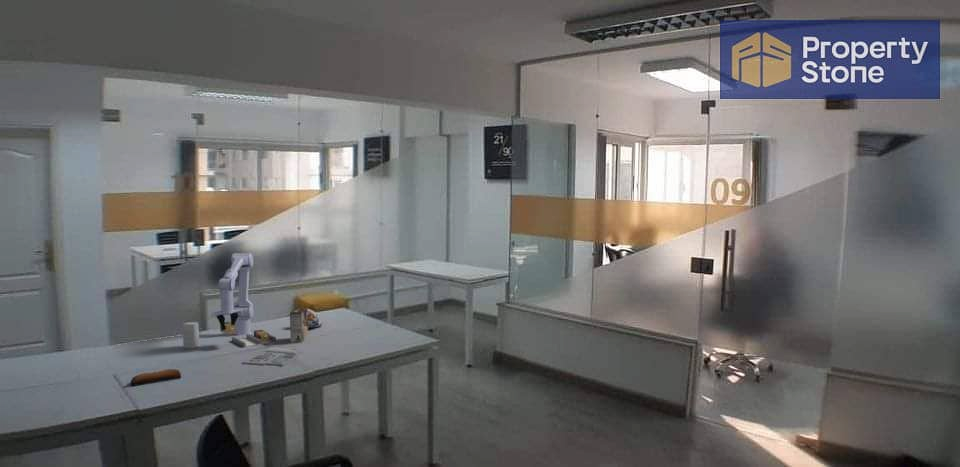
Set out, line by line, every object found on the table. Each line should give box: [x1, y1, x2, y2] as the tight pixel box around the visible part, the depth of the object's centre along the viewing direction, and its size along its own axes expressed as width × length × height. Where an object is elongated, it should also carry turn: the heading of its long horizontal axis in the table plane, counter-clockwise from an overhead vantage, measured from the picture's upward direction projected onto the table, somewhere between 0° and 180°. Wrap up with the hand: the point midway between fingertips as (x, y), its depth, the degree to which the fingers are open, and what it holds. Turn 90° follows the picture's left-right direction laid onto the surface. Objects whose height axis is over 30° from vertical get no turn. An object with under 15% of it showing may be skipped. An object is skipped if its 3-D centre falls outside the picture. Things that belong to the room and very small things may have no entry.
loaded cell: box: [253, 329, 270, 342], centre depth 293 cm, size 10×4×4 cm, turn 45°
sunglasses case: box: [130, 368, 182, 387], centre depth 235 cm, size 18×7×7 cm
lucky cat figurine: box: [306, 308, 323, 329], centre depth 320 cm, size 15×12×14 cm
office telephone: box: [242, 347, 303, 367], centre depth 266 cm, size 23×3×20 cm
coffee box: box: [289, 308, 309, 343], centre depth 293 cm, size 9×6×16 cm
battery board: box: [231, 333, 277, 348], centre depth 291 cm, size 15×16×3 cm
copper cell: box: [219, 321, 236, 335], centre depth 282 cm, size 10×4×4 cm, turn 44°
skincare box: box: [182, 321, 200, 349], centre depth 281 cm, size 6×4×12 cm
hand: (227, 328), depth 282 cm, fingers closed on copper cell, 4 cm apart
